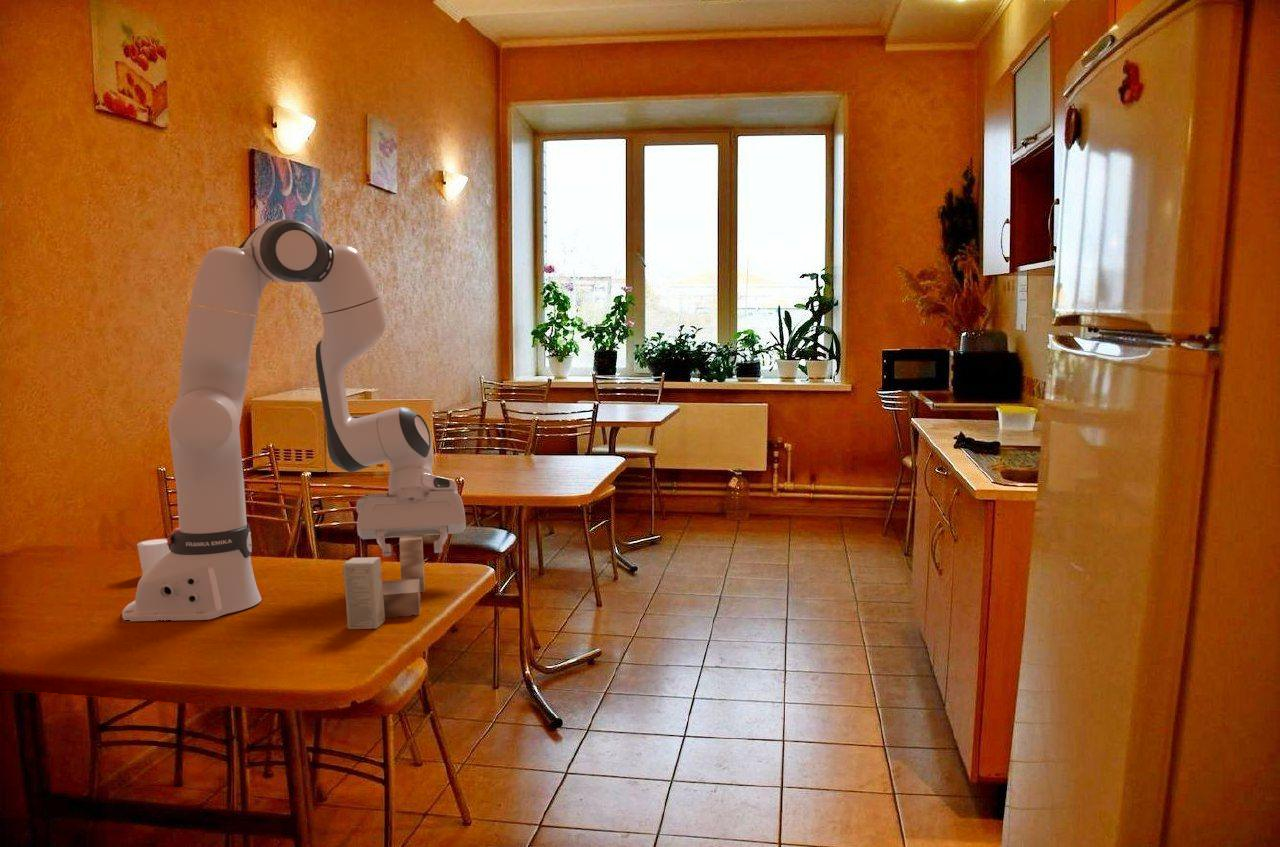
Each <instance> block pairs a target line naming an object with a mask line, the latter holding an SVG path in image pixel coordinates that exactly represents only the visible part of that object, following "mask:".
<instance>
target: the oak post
mask: <svg viewBox="0 0 1280 847" xmlns="http://www.w3.org/2000/svg"><path fill="white" fill-rule="evenodd" d="M423 542H424V541H423V535H409V536H400V537H399V558H400V559H399V560H400V580H410V579H420V592H423V593H425V589H426V588H425V586H426V585H425V564H424V561H425V560H424V543H423ZM424 588H425V589H424Z"/></svg>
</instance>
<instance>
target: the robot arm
mask: <svg viewBox="0 0 1280 847" xmlns="http://www.w3.org/2000/svg"><path fill="white" fill-rule="evenodd" d="M271 282H277V283H283V284H284V283H285V284H286V283H288V284H289V283H304V284H306V285H307V287H309V289H311V292H312V293H313V295H314V296H315V298H316V301H317V304H318V307H319V311H320V313H321V316H322V321H323V332H322V339H321V340H319V341H318V343H317V344H316V346H315V364H316V373H317V381H318V385H319V394H320V397H321V403H322V409H323V415H324V422H325V431H326V434H325V435H326V446H327V452H328V455H329V458H330V461H331V463H333V465H334V466H336V467H338V468H339V469H342V470H343V471H346V472H348V473H356V472H358V471H361V470H364V469H367V468H369V467H371V466H374V465H375V466H376V465H379V464H382V463H383V464H385V463H387V462H388V466H389V469H390V470H389V475H388V488H387V489H388V490H387V491H388V492H387V493H386V492H385V493H384V492H383V493H375V494H372V493H371V494H370V493H368V494H364V496H362V497H359V498H358V499H357V500H356V504H355V505H356V509H355V510H356V513H357V514H358V515H357V521H356V531H357V535H358V537H360V538H361V540H374V539H376V542H377V544H378V545H379V547H380V548H381V551H382V552H381V553H382V557H389V556H392V551H391V550H392V548H391V543H386V541H385V539H387V538H388V539H389V538H391V539H392V538H400V536H409V535H422V536H433V535H435V536H436V535H440V536H439V538H438V540H433V550H434V551H433V552H434V553H435V554H438V553H439V554H440V553H443V545H444V544H445V543H446V541H447V540H448V538H449V536H448V535H449V534H451V535H452V534H462V533H463V532H464V531H465V530H466V528H467V526H466V525H467V523H466V522H467V521H466V512H465V511H466V510H465V507H464V503H463V499H462V496H461V495H460V494H459V492H458V485H457V482H456V480H454V479H452V478H448V477H442V476H438V475H434V473H433V467H434V462H435V461H434V459H435V458H434V448H433V442H432V440H433V439H432V435H431V432H430V429H429V427H428V424H427V423H426V420H425V419H424V418H423V417H422V416H421V415H420V414H419V413H418V412H416V411H415V410H413V409H411V408H409V407H407V406H401V407H395V408H391V409H385V410H381V411H379V412H376V413H372V414H368V415H364V416H360V417H353V416H351V414H350V411H349V409H350V408H349V404H348V403H349V402H348V397H347V393H346V392H347V391H346V384H345V379H344V378H345V373H346V370H347V367H348V366H349V365H350V364H351V363H352V362H354V361H355V360H357V359H358V358H359V357H361V355H363V354H365V353H366V352H367V351H369V350H370V349H371V348H372V347H374V345H376V343H378V341H379V340H380V339H381V337H382V336H383V333H384V332H385V329H386V323H387V320H386V314H385V311H384V307H383V304H382V299H381V296H380V294H379V291H378V288H377V286H376V283H375V281H374V278H373V276H372V274H371V271H370V270H369V267H368V265H367V264H366V262H365V260H364V258H363V256H362V255H361V253H360V252H359V251H358V250H357V249H356V248H354V247H353V246H350V245H347V244H346V245H345V244H332V245H331V244H330V243H329V242H328V241H326V240H325V239H324V238H323V237H322V236H321V235H320V234H319V233H318V232H317V231H316V230H315V229H314V228H313V227H311V226H310V225H308V224H306V223H305V222H303V221H299V220H297V219H284V218H283V219H281V218H280V219H274V220H270V221H267V222H265V223H263V224H261V225H258V226H257V227H256V228H255V229H254V230H252V232H251V233H250V234H248V236H247V237H246V238H245V239H244V241H242V243H241V244H240V245H239V246H238V247H234V246H227V245H226V246H224V245H223V246H219V247H218V246H217V247H214V248H212V249H210V250H208V251H207V252H206V253H205V255H204V256H203V257H202V261H201V263H200V266H199V268H198V271H197V274H196V276H195V281H194V284H193V288H192V292H191V296H190V300H189V301H190V302H189V307H188V308H189V309H188V312H187V314H188V315H187V320H186V327H185V333H184V338H183V345H182V352H181V364H180V373H179V374H180V375H179V380H178V381H179V382H178V390H177V397H176V401H175V403H174V404H173V406H172V408H170V410H169V414H168V418H167V419H168V420H167V424H168V432H169V434H168V435H169V442H170V443H169V445H170V450H171V459H172V466H173V474H174V479H175V488H176V499H177V502H176V503H177V512H178V527H176V528H174V529H172V530H171V532H170V534H169V535H168V536H167V538H168V539H167V541H168V542H167V545H168V546H169V550H170V552H169V553H168V554H167V555H166V556H164V557H163V558H162V559H161V560H160V561H158V562H157V563H156V564H155V565H154V566H153V567H151V568H150V569H149V570H148V571H147V572H146V573H145V574H144V575H143V574H142V576H141V577H140V578H139V580H138V583H137V586H136V592H135V599H134V600H133V601H131V602H130V603H128V604H127V605H126V606H125V607H124V608H123V609H122V611H121V612H122V614H121V619H122V618H123V619H124V620H123V619H122V620H123V621H125V620H130V621H129V622H159V621H158V620H161V621H160V622H163V621H162V620H164V621H166V620H171V622H173V621H206V620H207V621H208V620H213V619H216V618H219V617H221V616H224V615H228V614H232V613H236V612H240V611H243V610H246V609H249V608H252V607H254V606H256V605H258V604H259V603H260V602H261V601H262V597H261V594H260V591H259V589H258V588H259V587H258V585H257V583H256V578H255V575H254V571H253V570H254V569H253V565H252V564H253V563H252V560H251V555H252V551H253V550H252V549H253V547H252V546H253V545H252V532H251V529H250V524H249V523H248V522H247V508H246V506H247V505H246V493H245V489H246V488H245V479H244V478H245V477H244V470H243V459H242V448H241V434H240V425H241V420H242V416H243V415H242V414H243V408H244V402H245V395H246V388H247V382H248V377H249V376H248V375H249V369H250V363H251V358H252V351H253V344H254V339H255V333H256V326H257V320H258V314H259V305H260V299H261V297H262V294H263V292H264V289H265V288H266V286H268V284H269V283H271ZM156 620H157V621H156ZM166 622H167V621H166Z"/></svg>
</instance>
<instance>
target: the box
mask: <svg viewBox="0 0 1280 847" xmlns="http://www.w3.org/2000/svg"><path fill="white" fill-rule="evenodd" d="M342 570H343V582H344V594H345V605H346V606H345V607H346V608H345V609H346V619H347V621H346V622H347V629H348V630H363V629H365V630H372V629H374V630H375V629H378V628H379V627H380V626H381V625H383V624H384V623H385V621H386V618H385V612H384V599H383V586H382V581H383V576H382V562H381V557H379V556H376V557H375V556H374V557H373V556H372V557H352V558H350V559H349V560H346V562H344V563H342Z"/></svg>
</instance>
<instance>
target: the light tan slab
mask: <svg viewBox="0 0 1280 847" xmlns="http://www.w3.org/2000/svg"><path fill="white" fill-rule="evenodd" d="M382 586H383V599H384V612H385V617H388V618H398V616H402V617H412V616H411V615H415V616H420V612H421V611H420V610H421V602H420V601H422V600H421V593H420V579H410V580H401V579H398V580H397V579H395V580H382ZM419 611H420V612H419Z"/></svg>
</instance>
